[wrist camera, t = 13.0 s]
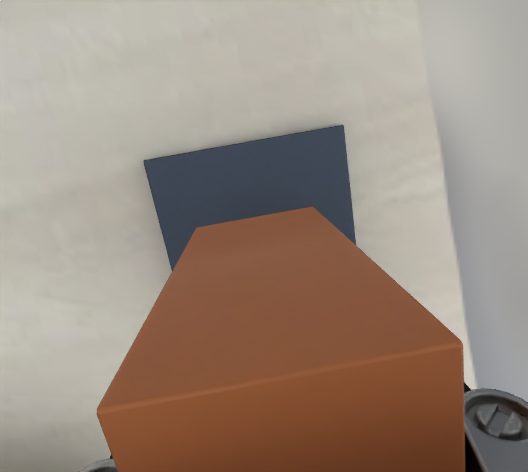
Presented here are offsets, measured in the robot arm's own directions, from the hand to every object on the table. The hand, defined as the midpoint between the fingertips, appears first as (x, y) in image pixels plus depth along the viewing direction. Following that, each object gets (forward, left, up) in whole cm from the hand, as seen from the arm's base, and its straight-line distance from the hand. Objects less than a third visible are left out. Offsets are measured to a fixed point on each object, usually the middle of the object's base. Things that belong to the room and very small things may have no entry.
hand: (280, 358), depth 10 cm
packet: (0, 0, -4) cm, 4 cm away
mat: (0, 0, -9) cm, 9 cm away
